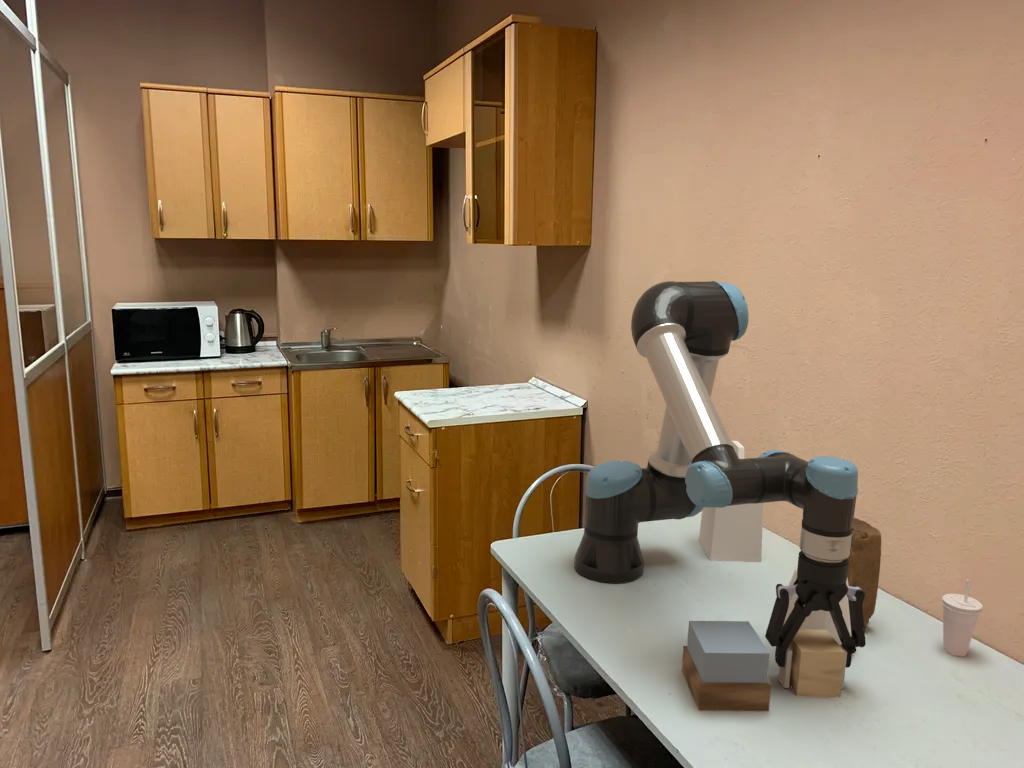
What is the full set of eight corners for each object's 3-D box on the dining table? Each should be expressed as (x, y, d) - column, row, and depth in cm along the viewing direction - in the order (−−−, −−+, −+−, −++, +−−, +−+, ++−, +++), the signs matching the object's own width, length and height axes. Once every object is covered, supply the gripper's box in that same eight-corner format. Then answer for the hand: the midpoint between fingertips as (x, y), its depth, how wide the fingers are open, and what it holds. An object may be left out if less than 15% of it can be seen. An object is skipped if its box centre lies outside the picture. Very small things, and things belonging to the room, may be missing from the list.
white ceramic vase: (846, 672, 132) (855, 596, 129) (766, 648, 139) (773, 576, 136) (859, 638, 143) (867, 568, 141) (784, 618, 150) (791, 551, 148)
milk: (761, 562, 176) (771, 451, 171) (710, 560, 177) (719, 450, 172) (746, 541, 188) (755, 437, 183) (698, 540, 188) (706, 436, 183)
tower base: (681, 672, 131) (683, 645, 130) (745, 673, 132) (748, 646, 131) (698, 712, 120) (700, 683, 119) (768, 712, 121) (771, 683, 120)
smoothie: (960, 663, 136) (972, 589, 133) (927, 646, 141) (937, 574, 139) (983, 655, 139) (994, 582, 136) (949, 638, 144) (959, 568, 142)
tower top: (686, 648, 130) (688, 620, 129) (746, 648, 130) (748, 621, 129) (702, 682, 120) (705, 652, 119) (766, 683, 120) (769, 653, 119)
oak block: (780, 672, 132) (785, 629, 130) (821, 672, 132) (826, 629, 130) (796, 696, 125) (801, 651, 123) (839, 697, 125) (844, 651, 123)
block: (876, 631, 146) (889, 531, 142) (842, 636, 144) (854, 534, 140) (838, 605, 156) (849, 511, 153) (806, 608, 154) (816, 513, 151)
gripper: (766, 563, 120) (754, 696, 124) (901, 564, 120) (884, 697, 125) (750, 544, 127) (740, 670, 131) (877, 546, 128) (862, 671, 132)
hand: (810, 683), depth 128 cm, fingers open, 8 cm apart
